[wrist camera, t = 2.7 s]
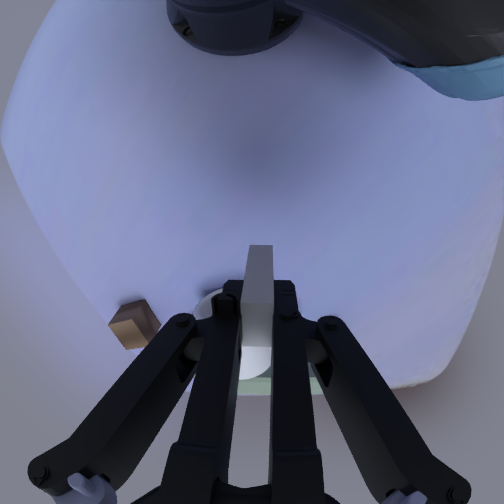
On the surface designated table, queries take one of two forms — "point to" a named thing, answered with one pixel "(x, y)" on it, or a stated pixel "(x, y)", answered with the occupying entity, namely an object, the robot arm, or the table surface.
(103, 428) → the robot arm
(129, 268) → the table surface
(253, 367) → the mug
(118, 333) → the walnut block
